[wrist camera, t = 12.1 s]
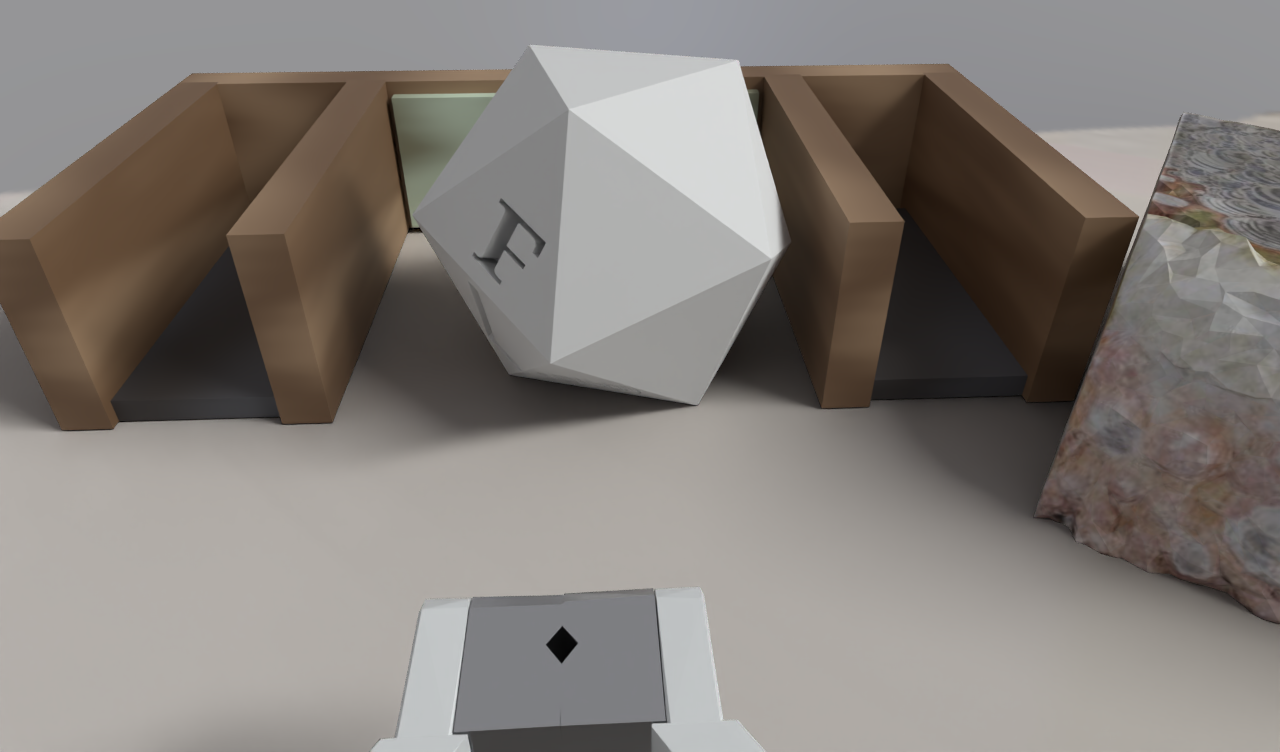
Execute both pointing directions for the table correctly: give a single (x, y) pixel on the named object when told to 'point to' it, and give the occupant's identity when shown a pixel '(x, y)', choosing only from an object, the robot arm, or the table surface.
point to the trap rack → (415, 157)
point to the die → (611, 219)
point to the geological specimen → (1188, 379)
